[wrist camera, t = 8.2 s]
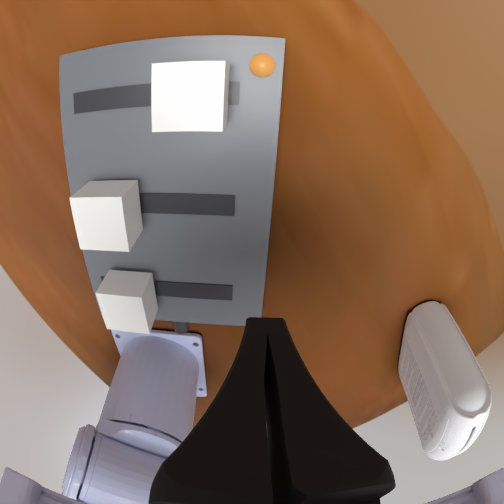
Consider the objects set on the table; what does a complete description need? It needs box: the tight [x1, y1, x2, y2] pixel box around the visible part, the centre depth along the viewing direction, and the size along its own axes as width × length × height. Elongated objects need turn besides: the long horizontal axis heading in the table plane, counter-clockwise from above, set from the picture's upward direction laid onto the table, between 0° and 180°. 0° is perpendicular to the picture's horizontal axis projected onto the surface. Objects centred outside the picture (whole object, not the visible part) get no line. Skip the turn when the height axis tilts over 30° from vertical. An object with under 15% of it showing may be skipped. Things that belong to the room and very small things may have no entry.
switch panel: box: [59, 35, 285, 334], centre depth 18 cm, size 20×12×2 cm, turn 177°
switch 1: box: [96, 270, 158, 334], centre depth 18 cm, size 3×3×2 cm
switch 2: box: [151, 61, 230, 132], centre depth 12 cm, size 3×3×2 cm
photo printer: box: [398, 301, 492, 460], centre depth 21 cm, size 10×4×12 cm, turn 14°
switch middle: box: [70, 180, 143, 252], centre depth 15 cm, size 3×3×2 cm
